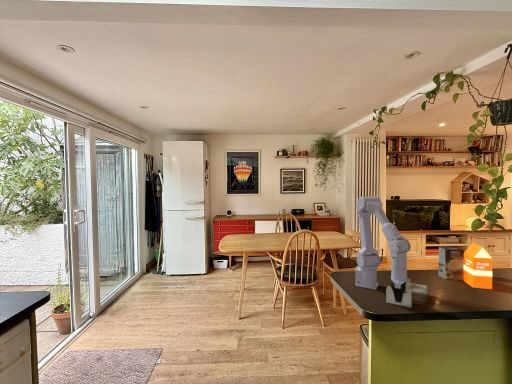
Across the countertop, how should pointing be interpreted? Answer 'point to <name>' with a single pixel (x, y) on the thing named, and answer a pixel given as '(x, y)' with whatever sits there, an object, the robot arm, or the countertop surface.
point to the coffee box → (451, 263)
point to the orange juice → (478, 267)
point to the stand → (418, 292)
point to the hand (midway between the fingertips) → (398, 299)
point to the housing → (405, 300)
